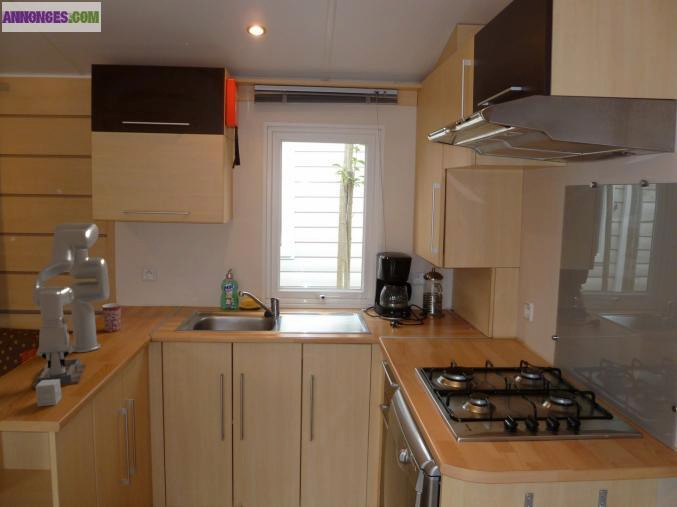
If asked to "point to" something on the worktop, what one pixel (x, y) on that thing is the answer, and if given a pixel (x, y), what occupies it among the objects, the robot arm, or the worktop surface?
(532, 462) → the worktop surface
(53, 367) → the salt shaker
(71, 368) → the keyhole rails
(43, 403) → the product box
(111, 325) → the mug
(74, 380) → the keyhole board
